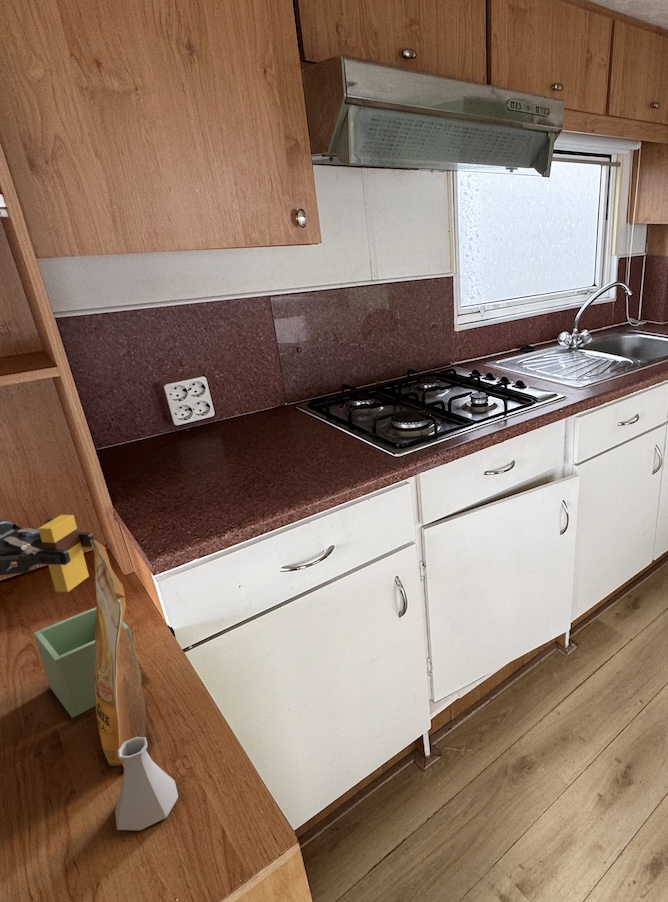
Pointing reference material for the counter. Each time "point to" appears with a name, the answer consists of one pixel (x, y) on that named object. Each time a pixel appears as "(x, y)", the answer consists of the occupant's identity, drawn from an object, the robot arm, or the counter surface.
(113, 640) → the pancake mix bag
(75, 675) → the trash can
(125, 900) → the counter surface
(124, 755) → the flask
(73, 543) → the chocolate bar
